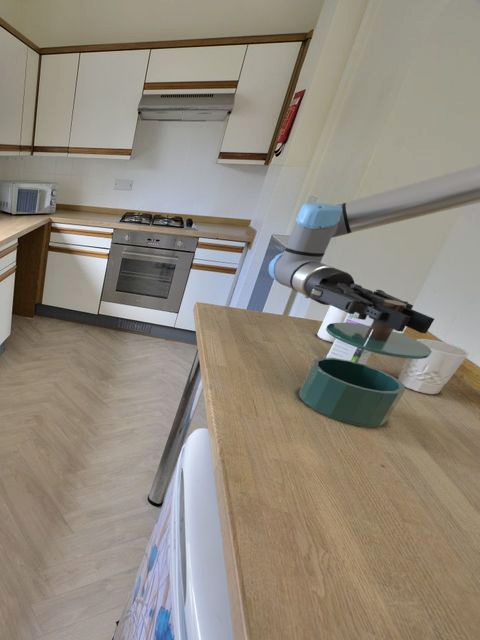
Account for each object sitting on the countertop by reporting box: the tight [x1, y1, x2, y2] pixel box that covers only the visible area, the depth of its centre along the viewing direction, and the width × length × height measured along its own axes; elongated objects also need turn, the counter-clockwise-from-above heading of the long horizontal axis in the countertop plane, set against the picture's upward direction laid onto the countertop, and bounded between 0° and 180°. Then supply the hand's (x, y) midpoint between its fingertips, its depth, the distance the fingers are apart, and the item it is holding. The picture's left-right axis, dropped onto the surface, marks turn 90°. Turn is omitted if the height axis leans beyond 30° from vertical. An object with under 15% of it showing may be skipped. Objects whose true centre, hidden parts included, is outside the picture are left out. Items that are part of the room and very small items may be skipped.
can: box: [316, 305, 348, 344], centre depth 112 cm, size 6×6×12 cm
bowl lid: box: [326, 300, 432, 359], centre depth 75 cm, size 15×15×8 cm
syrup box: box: [325, 312, 373, 365], centre depth 96 cm, size 6×6×14 cm
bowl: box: [298, 357, 406, 428], centre depth 81 cm, size 14×14×8 cm
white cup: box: [396, 338, 469, 395], centre depth 90 cm, size 8×8×10 cm
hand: (415, 324), depth 69 cm, fingers closed on bowl lid, 3 cm apart
